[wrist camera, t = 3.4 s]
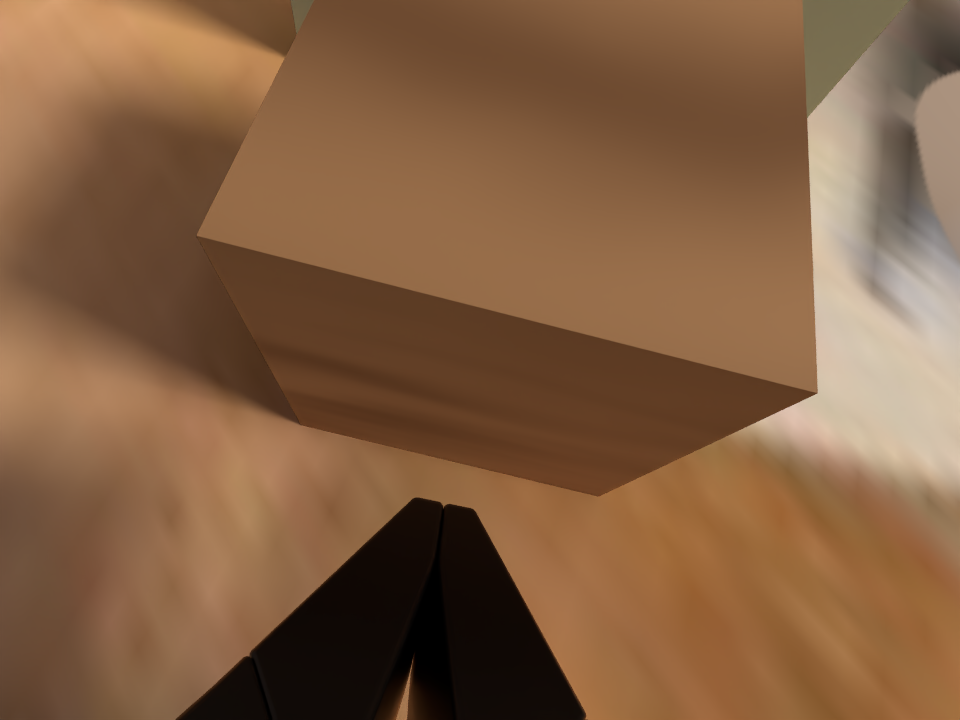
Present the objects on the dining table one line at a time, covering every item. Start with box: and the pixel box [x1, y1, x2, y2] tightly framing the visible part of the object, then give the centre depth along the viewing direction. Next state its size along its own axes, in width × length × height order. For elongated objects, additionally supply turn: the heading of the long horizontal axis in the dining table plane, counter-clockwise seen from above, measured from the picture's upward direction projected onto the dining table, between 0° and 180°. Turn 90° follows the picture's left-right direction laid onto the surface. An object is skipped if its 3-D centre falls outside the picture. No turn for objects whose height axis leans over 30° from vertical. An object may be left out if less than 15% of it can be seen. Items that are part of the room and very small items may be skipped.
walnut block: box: [196, 0, 818, 496], centre depth 13 cm, size 8×8×8 cm
